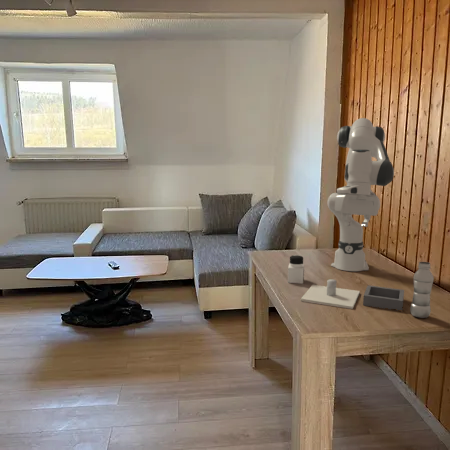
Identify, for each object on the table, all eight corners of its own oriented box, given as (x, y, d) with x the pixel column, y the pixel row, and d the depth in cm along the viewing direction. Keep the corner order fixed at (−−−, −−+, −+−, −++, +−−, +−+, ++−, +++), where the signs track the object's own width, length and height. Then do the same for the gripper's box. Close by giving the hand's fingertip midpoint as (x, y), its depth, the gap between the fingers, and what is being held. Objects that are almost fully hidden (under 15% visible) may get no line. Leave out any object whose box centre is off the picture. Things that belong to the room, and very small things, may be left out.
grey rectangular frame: (367, 294, 171) (367, 285, 171) (403, 299, 165) (404, 289, 165) (362, 305, 159) (363, 295, 158) (402, 311, 153) (402, 300, 152)
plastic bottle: (406, 313, 151) (410, 260, 147) (423, 312, 151) (428, 260, 148) (415, 320, 144) (420, 265, 141) (433, 319, 145) (439, 265, 142)
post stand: (312, 286, 181) (313, 271, 180) (359, 293, 173) (360, 277, 171) (300, 301, 163) (301, 284, 162) (352, 309, 155) (353, 291, 154)
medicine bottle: (303, 283, 185) (304, 258, 183) (287, 282, 186) (288, 257, 184) (303, 279, 192) (304, 254, 190) (288, 278, 193) (289, 253, 191)
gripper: (370, 192, 166) (368, 226, 167) (333, 188, 156) (331, 225, 157) (383, 192, 161) (381, 227, 161) (345, 188, 151) (343, 225, 151)
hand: (356, 226), depth 159 cm, fingers open, 8 cm apart
